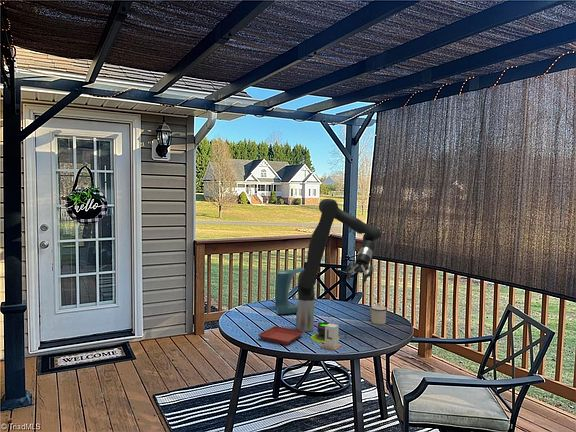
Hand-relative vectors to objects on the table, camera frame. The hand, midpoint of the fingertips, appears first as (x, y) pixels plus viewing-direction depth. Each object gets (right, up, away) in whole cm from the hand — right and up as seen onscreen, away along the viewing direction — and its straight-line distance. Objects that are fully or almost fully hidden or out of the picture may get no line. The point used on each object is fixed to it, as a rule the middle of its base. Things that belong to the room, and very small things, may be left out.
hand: (355, 280), depth 221 cm
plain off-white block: (-14, -30, -14) cm, 36 cm away
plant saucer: (-40, -30, -3) cm, 50 cm away
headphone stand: (-33, -28, +51) cm, 67 cm away
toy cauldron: (-16, -31, -1) cm, 35 cm away
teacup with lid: (+18, -30, +32) cm, 48 cm away
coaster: (-14, -31, -14) cm, 37 cm away
